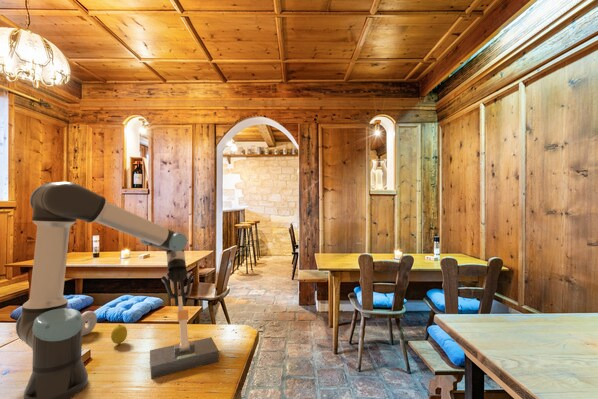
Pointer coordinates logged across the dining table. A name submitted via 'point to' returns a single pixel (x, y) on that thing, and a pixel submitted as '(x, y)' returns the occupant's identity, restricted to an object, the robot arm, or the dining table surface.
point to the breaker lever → (183, 329)
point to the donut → (91, 322)
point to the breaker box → (182, 357)
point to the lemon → (119, 334)
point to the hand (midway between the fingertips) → (181, 312)
